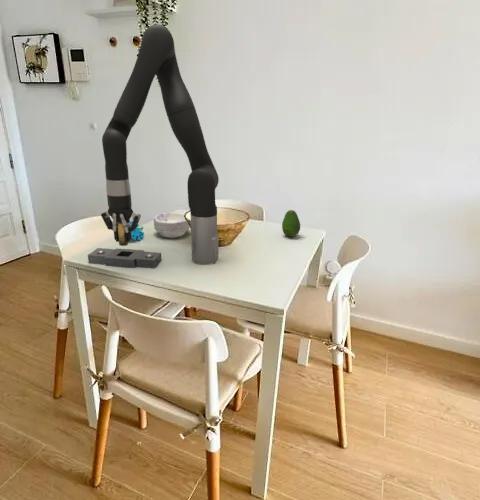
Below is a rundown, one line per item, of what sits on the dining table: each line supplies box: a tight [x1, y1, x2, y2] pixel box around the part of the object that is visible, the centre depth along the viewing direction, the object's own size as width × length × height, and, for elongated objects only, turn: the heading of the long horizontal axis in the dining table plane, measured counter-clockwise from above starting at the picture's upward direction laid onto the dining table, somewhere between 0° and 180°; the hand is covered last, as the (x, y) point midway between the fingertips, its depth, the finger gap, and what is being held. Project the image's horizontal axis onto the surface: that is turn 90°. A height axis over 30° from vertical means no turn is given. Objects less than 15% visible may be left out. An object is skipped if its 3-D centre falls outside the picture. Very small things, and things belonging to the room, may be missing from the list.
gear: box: [130, 220, 145, 242], centre depth 149 cm, size 11×6×10 cm
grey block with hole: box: [87, 247, 162, 269], centre depth 126 cm, size 24×9×4 cm, turn 82°
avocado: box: [281, 209, 301, 238], centre depth 154 cm, size 8×8×12 cm
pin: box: [117, 222, 129, 247], centre depth 123 cm, size 3×3×8 cm
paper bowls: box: [153, 212, 191, 239], centre depth 154 cm, size 15×15×8 cm
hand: (123, 241), depth 124 cm, fingers closed on pin, 3 cm apart
